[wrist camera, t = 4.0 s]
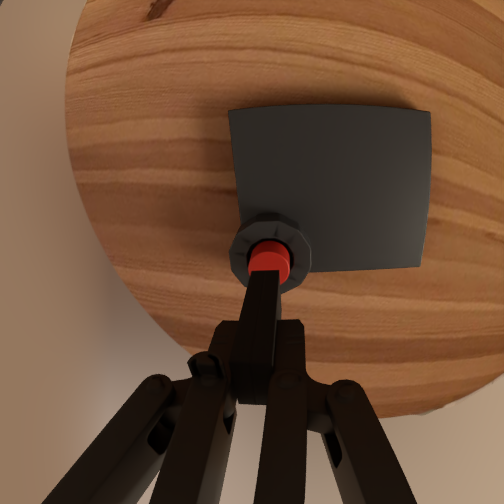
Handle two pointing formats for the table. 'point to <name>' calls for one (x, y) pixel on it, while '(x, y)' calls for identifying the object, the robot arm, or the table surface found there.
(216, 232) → the table surface
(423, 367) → the table surface
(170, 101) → the table surface
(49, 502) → the robot arm
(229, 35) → the table surface
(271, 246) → the button
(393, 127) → the scale
